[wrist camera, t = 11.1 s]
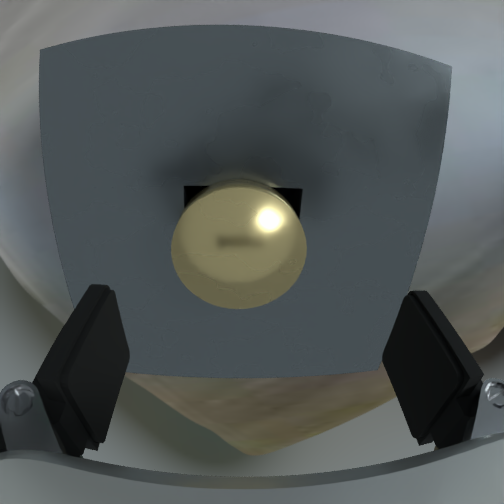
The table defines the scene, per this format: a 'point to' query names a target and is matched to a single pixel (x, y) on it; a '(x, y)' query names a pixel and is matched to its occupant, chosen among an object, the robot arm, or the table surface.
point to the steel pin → (238, 244)
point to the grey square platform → (250, 168)
